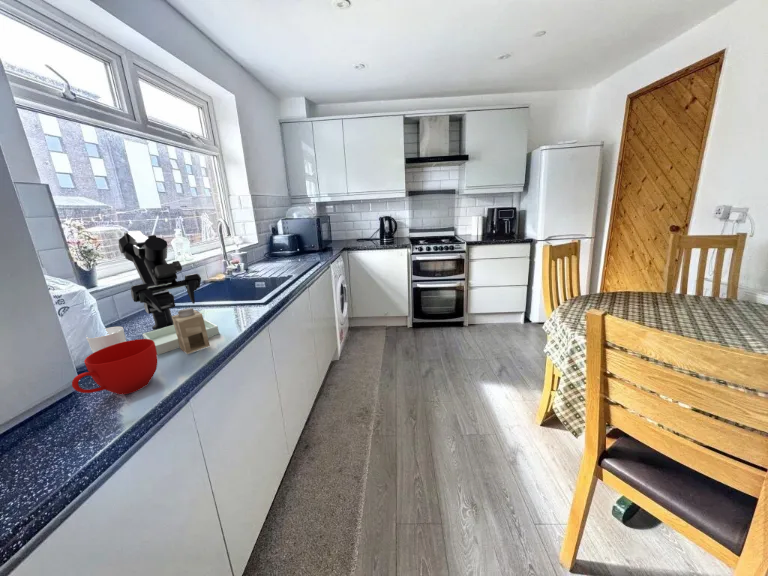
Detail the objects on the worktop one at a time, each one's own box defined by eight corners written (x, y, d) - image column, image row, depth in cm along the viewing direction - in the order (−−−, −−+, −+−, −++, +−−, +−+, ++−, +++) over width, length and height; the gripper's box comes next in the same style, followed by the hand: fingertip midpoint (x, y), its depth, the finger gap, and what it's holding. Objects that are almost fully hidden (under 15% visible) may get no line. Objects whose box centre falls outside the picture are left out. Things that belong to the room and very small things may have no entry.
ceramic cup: (63, 412, 66) (46, 372, 63) (138, 370, 82) (127, 337, 79) (107, 417, 63) (92, 376, 60) (176, 373, 79) (166, 339, 76)
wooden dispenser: (180, 348, 94) (170, 311, 90) (202, 341, 98) (193, 305, 95) (187, 354, 90) (176, 315, 86) (210, 346, 94) (200, 309, 91)
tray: (144, 341, 101) (142, 333, 100) (202, 324, 114) (200, 316, 113) (157, 355, 91) (154, 346, 90) (219, 333, 103) (217, 325, 103)
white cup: (112, 371, 83) (100, 338, 80) (90, 369, 84) (78, 337, 82) (139, 357, 90) (129, 326, 87) (119, 356, 92) (108, 326, 89)
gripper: (122, 259, 88) (141, 301, 84) (192, 249, 101) (212, 285, 97) (124, 282, 95) (142, 321, 91) (190, 270, 108) (208, 304, 104)
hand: (178, 307), depth 96 cm, fingers open, 9 cm apart
